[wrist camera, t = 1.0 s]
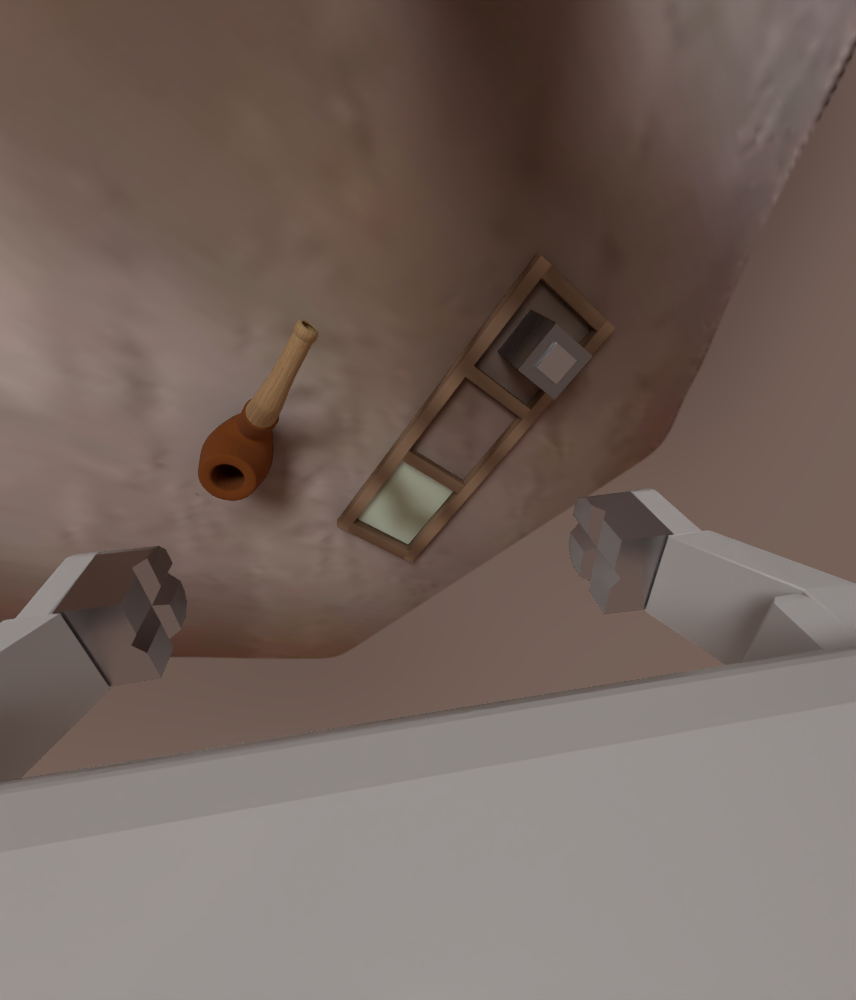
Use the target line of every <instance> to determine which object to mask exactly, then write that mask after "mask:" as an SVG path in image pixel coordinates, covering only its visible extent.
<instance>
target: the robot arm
mask: <svg viewBox="0 0 856 1000" xmlns="http://www.w3.org/2000/svg"><path fill="white" fill-rule="evenodd" d="M573 515H574V517H575V518H576V519H577V521H578V522H579V523H578V525H577V526H576V527H575V528H574V529H573V530H572V531H571V533H570V541H569V550H570V557H571V560H572V563H573V565H574V568H575V569H576V571H577V573H578V574H579V576H581V577H583V578H585V579H587V580H588V581H590V587H589V592H590V593H591V595H592V596H593V598H594V599H595V601H596V602H597V604H598V605H599V607H600V609H601V610H602V612H603V613H604V614H610V613H619V612H627V611H636V610H644V609H646V610H645V612H647V613H648V614H650V615H651V616H653V617H654V618H656V619H657V620H659V621H660V622H662V623H663V624H665V625H666V626H668V627H670V628H671V629H672V630H674V631H676V632H677V633H678V634H680V635H682V636H683V637H685V638H686V639H688V640H689V641H690V642H692V643H694V644H695V645H696V646H698V647H700V648H701V649H702V650H704V651H706V652H707V653H709V654H710V655H712V656H713V657H715V658H716V659H718V660H719V661H721V662H722V663H724V664H725V665H724V666H717V667H711V668H705V669H699V670H693V671H686V672H680V673H674V674H668V675H661V676H656V677H649V678H643V679H636V680H630V681H624V682H618V683H612V684H606V685H600V686H593V687H587V688H581V689H574V690H568V691H562V692H556V693H549V694H544V695H537V696H531V697H524V698H518V699H512V700H506V701H500V702H494V703H487V704H481V705H475V706H469V707H462V708H456V709H450V710H444V711H437V712H432V713H425V714H419V715H413V716H406V717H400V718H395V719H388V720H382V721H376V722H369V723H363V724H357V725H350V726H345V727H338V728H332V729H326V730H319V731H313V732H308V733H301V734H295V735H289V736H282V737H276V738H270V739H264V740H257V741H251V742H245V743H239V744H233V745H227V746H220V747H214V748H208V749H201V750H195V751H189V752H183V753H177V754H170V755H165V756H158V757H152V758H146V759H139V760H134V761H127V762H121V763H115V764H108V765H102V766H96V767H90V768H84V769H78V770H71V771H65V772H59V773H53V774H46V775H40V776H34V777H28V778H22V777H23V776H24V775H25V774H26V773H27V772H28V771H29V770H30V769H31V768H32V767H33V766H34V764H36V763H37V762H38V761H39V760H40V759H41V758H42V757H43V756H44V755H45V754H46V753H47V752H48V751H49V750H50V749H51V748H52V747H53V746H54V745H55V744H56V743H57V742H58V741H59V740H60V739H61V738H62V737H63V736H64V735H65V734H66V733H67V732H68V731H69V730H70V729H71V728H72V727H73V726H74V725H75V724H76V723H77V722H78V721H79V720H80V719H81V718H82V717H83V716H84V715H85V714H86V713H87V712H88V711H89V710H90V709H91V708H92V707H93V706H94V705H95V704H96V703H97V702H98V701H99V700H100V699H101V698H102V697H103V696H104V695H105V694H106V693H107V692H108V691H109V690H110V687H112V686H118V685H124V684H129V683H135V682H141V681H147V680H153V679H158V678H161V677H162V674H163V672H164V670H165V667H166V665H167V662H168V660H169V658H170V655H171V653H172V650H173V646H172V644H171V642H170V640H169V639H170V638H171V637H172V636H173V635H175V634H176V633H177V632H178V631H179V630H180V629H181V628H182V625H183V623H184V620H185V617H186V606H187V600H186V595H185V590H184V588H183V586H182V583H181V581H180V580H178V579H177V578H175V577H174V576H172V575H171V574H169V573H168V572H169V570H170V567H171V565H172V561H171V559H170V557H169V555H168V553H167V551H166V549H164V548H162V547H160V546H153V547H143V548H132V549H122V550H112V551H103V552H92V553H84V554H75V555H73V556H70V557H67V558H66V559H65V560H64V561H63V562H62V564H61V565H60V566H59V567H58V568H57V569H56V571H55V572H54V573H53V574H52V575H51V577H50V578H49V579H48V580H47V581H46V583H45V584H44V585H43V586H42V587H41V589H40V590H39V591H38V592H37V593H36V595H35V596H34V597H33V598H32V599H31V601H30V602H29V603H28V604H27V605H26V607H25V608H24V609H23V610H22V611H21V612H20V614H19V615H18V616H17V617H16V618H15V619H11V620H5V621H3V622H1V623H0V1000H856V584H854V583H852V582H849V581H846V580H844V579H841V578H838V577H835V576H833V575H830V574H827V573H825V572H822V571H819V570H816V569H813V568H811V567H808V566H805V565H803V564H800V563H797V562H794V561H791V560H789V559H786V558H783V557H780V556H778V555H775V554H772V553H770V552H767V551H764V550H761V549H759V548H756V547H753V546H750V545H748V544H745V543H742V542H739V541H737V540H734V539H731V538H729V537H726V536H723V535H720V534H718V533H715V532H712V531H701V530H700V529H699V528H697V527H696V526H695V525H694V524H693V523H692V522H691V521H690V520H688V519H687V518H686V517H685V516H684V515H683V514H682V513H681V512H679V511H678V510H677V509H676V508H675V507H674V506H673V505H672V504H670V503H669V502H668V501H667V500H666V499H665V498H664V497H663V496H661V495H660V494H659V493H658V492H657V491H656V490H653V489H650V488H644V489H638V490H631V491H625V492H621V493H613V494H605V495H597V496H590V497H582V498H578V500H577V502H576V504H575V508H574V514H573Z"/></svg>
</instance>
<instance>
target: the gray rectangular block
mask: <svg viewBox="0 0 856 1000" xmlns="http://www.w3.org/2000/svg"><path fill="white" fill-rule="evenodd" d="M498 352H499V353H500V354H501V355H502V356H503V357H504V358H506V359H507V360H508V361H509V362H510V363H511V364H512V365H513V366H514V367H515V368H516V369H517V370H518V371H520V372H521V373H522V374H523V375H525V376H526V377H527V378H528V379H530V380H531V381H532V382H533V383H535V384H536V385H537V386H538V387H540V388H541V389H542V390H543V391H544V392H546V393H547V394H548V395H549V396H551V397H552V398H553V399H554V400H555V399H556V398H557V397H558V396H559V394H560V393H561V392H562V391H563V390H564V389H565V388H566V386H567V385H568V384H569V383H570V382H571V381H572V380H573V378H574V377H575V376H576V375H577V374H578V373H579V372H580V370H581V369H582V368H583V367H584V366H585V365H586V364H587V362H588V361H589V360H590V359H591V358H592V357H593V356H592V355H591V354H590V353H588V352H587V351H586V350H585V349H584V348H583V347H582V346H581V345H580V344H579V343H578V342H576V341H575V340H574V339H573V338H572V337H571V336H570V335H569V334H568V333H567V332H566V331H564V330H563V329H562V328H561V327H560V326H559V325H558V324H557V323H555V322H553V321H552V320H550V319H548V318H546V317H544V316H542V315H540V314H538V313H537V312H535V311H533V310H530V311H529V312H528V314H527V315H526V316H525V318H524V319H523V320H522V321H521V323H520V324H519V325H518V327H517V328H516V329H515V330H514V332H513V333H512V334H511V335H510V337H509V338H508V339H507V341H506V342H505V343H504V344H503V346H502V347H501V348H500V350H499V351H498Z"/></svg>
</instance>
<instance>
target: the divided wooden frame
mask: <svg viewBox="0 0 856 1000" xmlns="http://www.w3.org/2000/svg"><path fill="white" fill-rule="evenodd" d="M539 280H541V281H542V282H543V283H544V284H545V285H547V286H548V287H549V288H550V289H551V290H552V291H553V292H554V293H555V294H556V295H557V296H558V297H559V298H560V299H561V300H562V301H563V302H564V303H565V304H566V305H567V306H569V307H570V308H571V309H572V310H573V311H574V312H575V313H576V314H577V315H578V316H579V317H580V318H581V319H582V320H583V321H584V322H585V323H586V324H587V325H588V326H589V327H590V328H592V329H591V331H590V332H589V333H588V334H587V335H586V336H585V338H584V339H583V340H582V341H581V342H580V345H581V346H582V347H583V348H584V349H585V350H586V351H587V352H588V353H590V354H591V355H593V354H594V353H595V352H596V351H597V349H598V348H599V347H600V346H601V345H602V344H603V343H604V341H605V340H606V339H607V338H608V337H609V336H610V335H611V333H612V332H613V331H614V330H615V329H616V328H615V327H614V326H613V325H612V324H611V323H610V322H609V321H608V320H607V319H606V318H605V317H604V316H603V315H602V314H601V313H600V312H599V311H598V310H597V309H596V308H595V307H594V306H593V305H592V304H591V303H590V302H589V301H588V300H587V299H586V298H584V297H583V296H582V295H581V294H580V293H579V292H578V291H577V290H576V289H575V288H574V287H573V286H572V285H571V284H570V283H569V282H568V281H567V280H566V279H565V278H564V277H563V276H562V275H561V274H560V273H559V272H558V271H557V270H556V269H555V268H554V267H553V266H552V265H551V264H550V263H549V262H548V261H547V260H546V259H545V258H544V257H543V256H542V255H539V254H536V255H535V257H534V258H533V259H532V261H531V262H530V263H529V265H528V266H527V267H526V269H525V270H524V271H523V273H522V274H521V275H520V277H519V278H518V279H517V281H516V282H515V283H514V285H513V286H512V287H511V289H510V290H509V291H508V293H507V294H506V295H505V297H504V298H503V299H502V301H501V302H500V303H499V305H498V306H497V307H496V309H495V310H494V311H493V313H492V314H491V315H490V317H489V318H488V319H487V321H486V322H485V323H484V325H483V326H482V327H481V329H480V330H479V331H478V333H477V334H476V335H475V337H474V338H473V339H472V341H471V342H470V343H469V345H468V346H467V348H466V349H465V350H464V352H463V353H462V354H461V356H460V357H459V358H458V360H457V361H456V362H455V364H454V365H453V366H452V368H451V369H450V370H449V372H448V373H447V374H446V376H445V377H444V378H443V380H442V381H441V382H440V384H439V385H438V386H437V388H436V389H435V390H434V392H433V393H432V394H431V396H430V397H429V398H428V400H427V401H426V402H425V404H424V405H423V406H422V408H421V409H420V410H419V412H418V413H417V414H416V416H415V417H414V418H413V420H412V421H411V422H410V424H409V425H408V426H407V428H406V429H405V430H404V432H403V433H402V434H401V436H400V437H399V438H398V440H397V441H396V442H395V444H394V445H393V446H392V448H391V449H390V450H389V452H388V453H387V454H386V456H385V457H384V458H383V460H382V461H381V462H380V464H379V465H378V466H377V468H376V469H375V470H374V472H373V473H372V474H371V476H370V477H369V478H368V480H367V481H366V482H365V484H364V485H363V486H362V488H361V489H360V490H359V492H358V493H357V494H356V496H355V497H354V498H353V500H352V501H351V502H350V504H349V505H348V506H347V508H346V509H345V510H344V512H343V513H342V514H341V516H340V517H339V518H338V520H337V527H339V528H341V529H343V530H345V531H347V532H349V533H351V534H353V535H356V536H358V537H360V538H362V539H364V540H366V541H368V542H370V543H372V544H374V545H376V546H378V547H380V548H382V549H384V550H386V551H388V552H391V553H393V554H395V555H397V556H399V557H401V558H403V559H405V560H407V561H409V562H411V563H412V562H413V561H414V559H415V558H416V557H417V556H418V555H419V554H420V553H421V551H422V550H423V549H424V548H425V547H426V546H427V545H428V543H429V542H430V541H431V540H432V539H433V538H434V537H435V535H436V534H437V533H438V532H439V531H440V530H441V528H442V527H443V526H444V525H445V524H446V523H447V522H448V520H449V519H450V518H451V517H452V516H453V515H454V514H455V512H456V511H457V510H458V509H459V508H460V507H461V506H462V504H463V503H464V502H465V501H466V500H467V499H468V497H469V496H470V495H471V494H472V493H473V492H474V491H475V489H476V488H477V487H478V486H479V485H480V484H481V483H482V481H483V480H484V479H485V478H486V477H487V476H488V475H489V473H490V472H491V471H492V470H493V469H494V468H495V466H496V465H497V464H498V463H499V462H500V461H501V460H502V458H503V457H504V456H505V455H506V454H507V453H508V452H509V450H510V449H511V448H512V447H513V446H514V445H515V444H516V442H517V441H518V440H519V439H520V438H521V437H522V436H523V434H524V433H525V432H526V431H527V430H528V429H529V427H530V426H531V425H532V424H533V423H534V422H535V421H536V419H537V418H538V417H539V416H540V415H541V414H542V413H543V411H544V410H545V409H546V408H547V407H548V406H549V405H550V403H551V402H552V401H553V400H554V399H553V398H552V397H551V396H549V395H548V394H547V393H546V392H544V391H543V390H542V389H540V391H539V392H538V393H537V394H536V395H535V396H534V398H533V399H532V400H531V401H530V402H529V404H528V405H525V404H524V403H523V402H522V401H520V400H519V399H518V398H516V397H515V396H514V395H512V394H511V393H510V392H509V391H507V390H506V389H505V388H503V387H502V386H501V385H499V384H498V383H497V382H496V381H494V380H493V379H492V378H490V377H489V376H488V375H487V374H485V373H484V372H483V371H481V370H480V369H479V368H477V367H476V366H475V364H476V362H477V361H478V360H479V358H480V357H481V356H482V355H483V353H484V352H485V351H486V349H487V348H488V347H489V345H490V344H491V343H492V342H493V340H494V339H495V338H496V336H497V335H498V334H499V332H500V331H501V330H502V329H503V327H504V326H505V325H506V323H507V322H508V321H509V319H510V318H511V317H512V315H513V314H514V313H515V312H516V310H517V309H518V308H519V306H520V305H521V304H522V302H523V301H524V300H525V299H526V297H527V296H528V295H529V293H530V292H531V291H532V289H533V288H534V287H535V286H536V284H537V283H538V282H539ZM465 377H466V378H468V379H469V380H470V381H472V382H473V383H474V384H476V385H477V386H479V387H480V388H481V389H483V390H484V391H485V392H487V393H488V394H489V395H491V396H492V397H493V398H495V399H496V400H497V401H499V402H500V403H501V404H503V405H504V406H505V407H507V408H508V409H509V410H511V411H512V412H513V413H515V414H516V415H517V418H516V419H515V420H514V421H513V422H512V424H511V425H510V426H509V427H508V428H507V429H506V431H505V432H504V433H503V434H502V435H501V436H500V438H499V439H498V440H497V441H496V442H495V444H494V445H493V446H492V447H491V448H490V449H489V451H488V452H487V453H486V454H485V455H484V456H483V458H482V459H481V460H480V461H479V462H478V464H477V465H476V466H475V467H474V468H473V469H472V471H471V472H470V473H469V474H468V475H467V476H466V478H465V479H464V480H462V479H460V478H458V477H457V476H455V475H454V474H452V473H450V472H449V471H447V470H445V469H444V468H442V467H441V466H439V465H437V464H436V463H434V462H433V461H431V460H429V459H428V458H426V457H424V456H423V455H421V454H420V453H418V452H416V451H415V450H413V449H411V447H412V446H413V444H414V443H415V442H416V440H417V439H418V438H419V437H420V435H421V434H422V433H423V431H424V430H425V429H426V427H427V426H428V425H429V424H430V422H431V421H432V420H433V418H434V417H435V416H436V414H437V413H438V412H439V411H440V409H441V408H442V407H443V405H444V404H445V403H446V401H447V400H448V399H449V397H450V396H451V395H452V394H453V392H454V391H455V390H456V388H457V387H458V386H459V384H460V383H461V382H462V381H463V379H464V378H465ZM453 491H454V492H453ZM452 492H453V493H452ZM448 497H449V498H448ZM447 498H448V499H447ZM443 503H444V504H443ZM442 504H443V505H442ZM441 505H442V506H441ZM437 510H438V511H437ZM436 511H437V512H436ZM435 512H436V513H435ZM431 517H432V518H431ZM430 518H431V519H430ZM357 519H359V520H361V521H363V522H365V523H367V524H369V525H371V526H373V527H375V528H377V529H379V530H381V531H383V532H385V533H387V534H389V535H391V536H393V537H395V538H397V539H399V540H401V541H402V542H401V541H399V540H397V539H395V538H393V537H391V536H389V535H387V534H385V533H383V532H381V531H379V530H377V529H375V528H373V527H371V526H369V525H367V524H365V523H363V522H361V521H359V520H357ZM426 523H427V524H426ZM425 524H426V525H425ZM424 525H425V526H424ZM420 530H421V531H420ZM419 531H420V532H419ZM418 532H419V533H418ZM414 537H415V538H414ZM413 538H414V539H413ZM403 542H404V543H403ZM405 543H406V544H405ZM409 543H410V544H409ZM407 544H409V545H407Z"/></svg>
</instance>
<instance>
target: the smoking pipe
mask: <svg viewBox="0 0 856 1000" xmlns="http://www.w3.org/2000/svg"><path fill="white" fill-rule="evenodd" d="M317 337H318V331H317V329H316V328H315V327H314V326H313V325H312V324H310V323H309V322H307V321H304V320H300V321H298V322H296V324H295V326H294V331H293V333H292V335H291V337H290V339H289V341H288V343H287V345H286V347H285V348H284V350H283V352H282V354H281V356H280V358H279V359H278V361H277V363H276V365H275V367H274V368H273V370H272V372H271V373H270V375H269V377H268V378H267V379H266V381H265V382H264V383H263V385H262V386H261V387H260V389H259V390H258V391H257V393H256V394H255V395H254V397H253V398H252V399H250V400H249V401H248V402H247V403H246V404H245V406H244V408H243V410H242V412H241V413H240V414H238V415H236V416H233V417H232V418H230V419H228V420H227V421H225V422H224V423H222V424H221V425H220V426H219V427H217V428H216V429H215V430H214V431H213V432H212V433H211V434H210V435H209V436H208V438H207V439H206V441H205V443H204V445H203V447H202V450H201V455H200V460H199V468H198V477H199V480H200V483H201V484H202V486H203V487H204V489H206V490H207V491H208V492H209V493H210V494H212V495H213V496H215V497H217V498H220V499H223V500H230V501H235V500H241V499H244V498H246V497H248V496H249V495H251V494H252V493H253V492H254V491H255V489H256V488H257V487H258V486H259V485H260V484H261V483H262V481H263V480H264V479H265V478H266V476H267V474H268V473H269V470H270V467H271V464H272V459H273V435H272V429H273V428H274V427H275V425H276V424H277V422H278V420H279V414H280V412H281V410H282V408H283V405H284V403H285V400H286V397H287V395H288V392H289V389H290V387H291V385H292V383H293V380H294V378H295V376H296V374H297V372H298V370H299V368H300V366H301V364H302V362H303V361H304V359H305V357H306V355H307V353H308V351H309V349H310V347H311V345H312V344H313V342H314V341H315V340H316V339H317Z"/></svg>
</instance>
